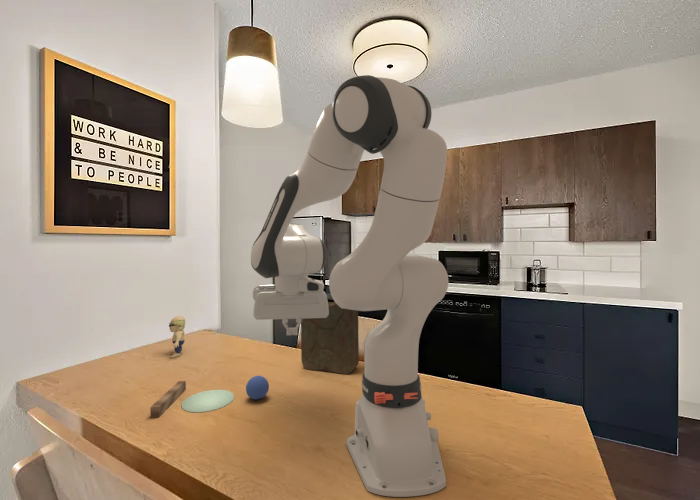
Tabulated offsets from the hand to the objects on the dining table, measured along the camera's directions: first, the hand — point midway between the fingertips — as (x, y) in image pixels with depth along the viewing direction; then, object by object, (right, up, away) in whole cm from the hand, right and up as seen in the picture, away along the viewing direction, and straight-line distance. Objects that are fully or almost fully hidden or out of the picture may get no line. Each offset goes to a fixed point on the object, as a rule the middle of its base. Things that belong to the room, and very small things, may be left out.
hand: (292, 334), depth 93 cm
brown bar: (-32, -17, -2) cm, 37 cm away
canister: (+9, -17, +22) cm, 29 cm away
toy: (-50, -17, +37) cm, 65 cm away
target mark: (-22, -17, -2) cm, 28 cm away
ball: (-9, -14, -1) cm, 17 cm away
